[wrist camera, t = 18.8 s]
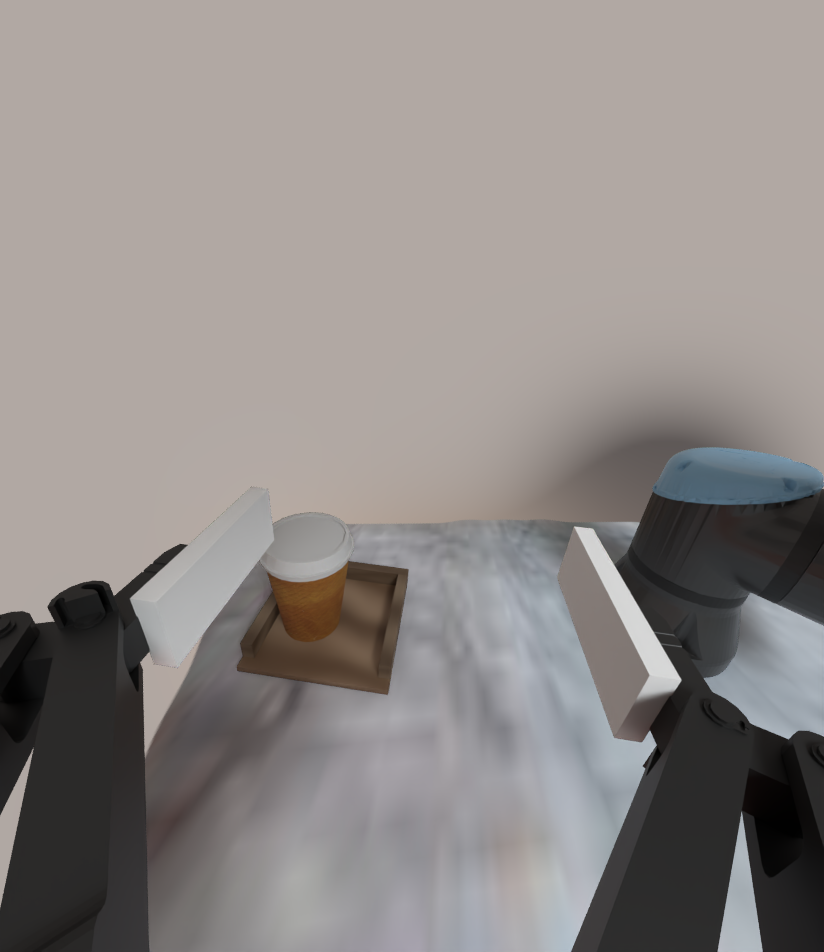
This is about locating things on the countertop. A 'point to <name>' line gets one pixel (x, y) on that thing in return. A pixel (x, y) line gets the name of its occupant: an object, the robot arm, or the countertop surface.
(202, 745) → the countertop surface
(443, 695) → the countertop surface
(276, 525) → the disposable coffee cup
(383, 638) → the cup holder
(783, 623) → the countertop surface
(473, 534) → the countertop surface
